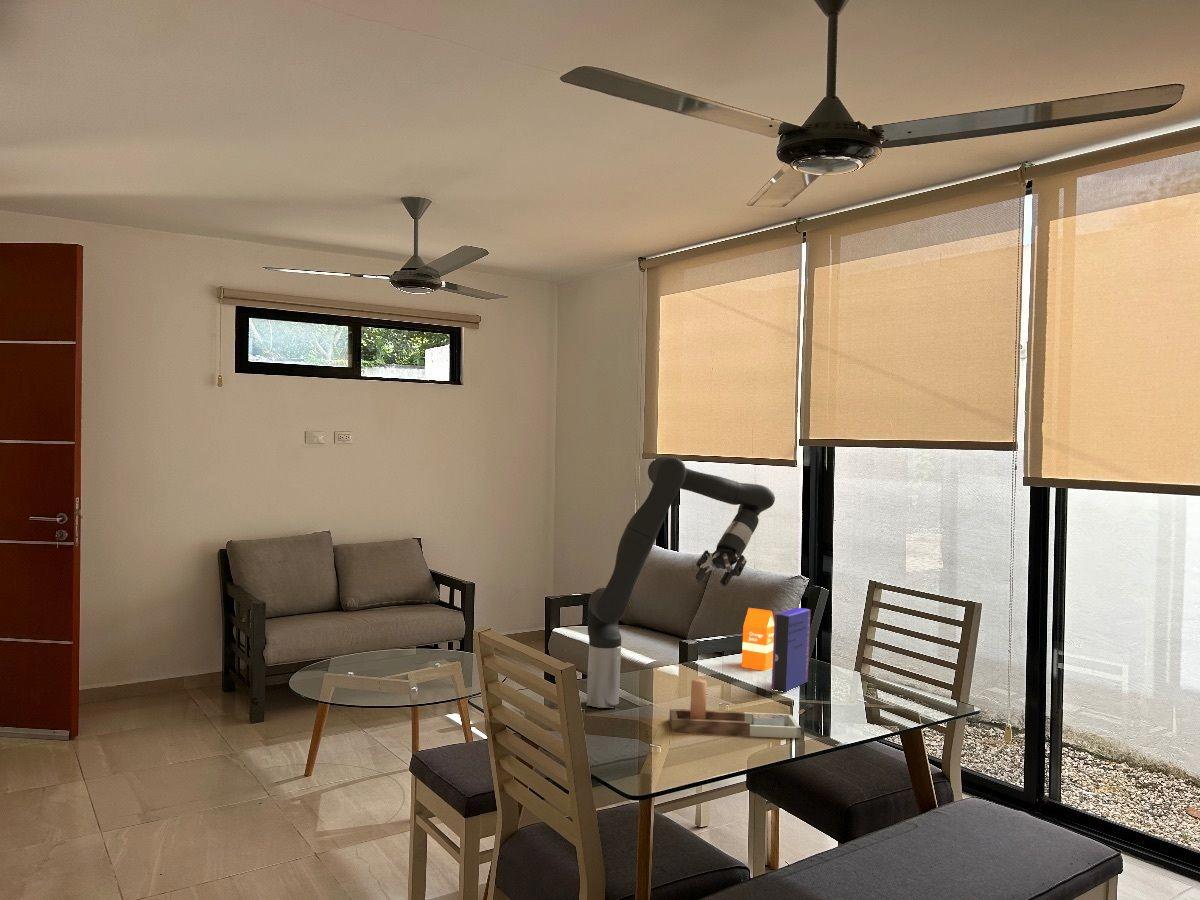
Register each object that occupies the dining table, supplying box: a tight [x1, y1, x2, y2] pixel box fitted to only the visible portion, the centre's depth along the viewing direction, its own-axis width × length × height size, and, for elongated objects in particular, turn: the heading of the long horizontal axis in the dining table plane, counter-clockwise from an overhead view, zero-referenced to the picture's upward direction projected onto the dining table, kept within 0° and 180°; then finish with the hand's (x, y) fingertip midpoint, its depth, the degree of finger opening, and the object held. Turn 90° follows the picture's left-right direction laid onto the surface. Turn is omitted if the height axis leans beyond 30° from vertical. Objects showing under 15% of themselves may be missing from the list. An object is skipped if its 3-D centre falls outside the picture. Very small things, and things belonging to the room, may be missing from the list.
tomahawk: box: [797, 703, 814, 715], centre depth 255 cm, size 21×7×1 cm, turn 146°
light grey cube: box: [751, 712, 769, 725], centre depth 238 cm, size 4×4×4 cm
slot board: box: [668, 708, 751, 737], centre depth 238 cm, size 20×12×4 cm, turn 90°
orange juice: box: [741, 607, 774, 672], centre depth 313 cm, size 8×9×20 cm
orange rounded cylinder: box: [689, 678, 708, 720], centre depth 238 cm, size 4×4×12 cm
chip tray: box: [743, 711, 802, 739], centre depth 238 cm, size 13×12×4 cm
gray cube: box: [767, 713, 785, 726], centre depth 238 cm, size 4×4×4 cm
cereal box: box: [771, 607, 811, 693], centre depth 288 cm, size 17×5×24 cm, turn 145°
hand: (710, 582), depth 256 cm, fingers open, 8 cm apart
